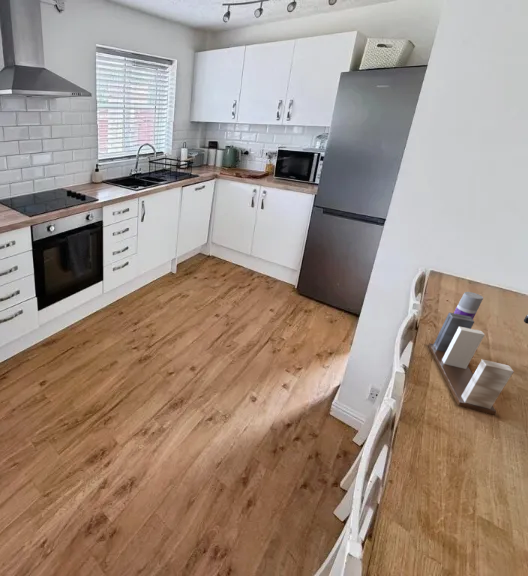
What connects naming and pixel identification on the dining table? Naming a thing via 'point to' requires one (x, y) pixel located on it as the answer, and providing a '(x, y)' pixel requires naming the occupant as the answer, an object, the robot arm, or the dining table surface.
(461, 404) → the book rack
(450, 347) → the white book
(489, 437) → the dining table surface
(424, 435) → the dining table surface
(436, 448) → the dining table surface
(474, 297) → the container
